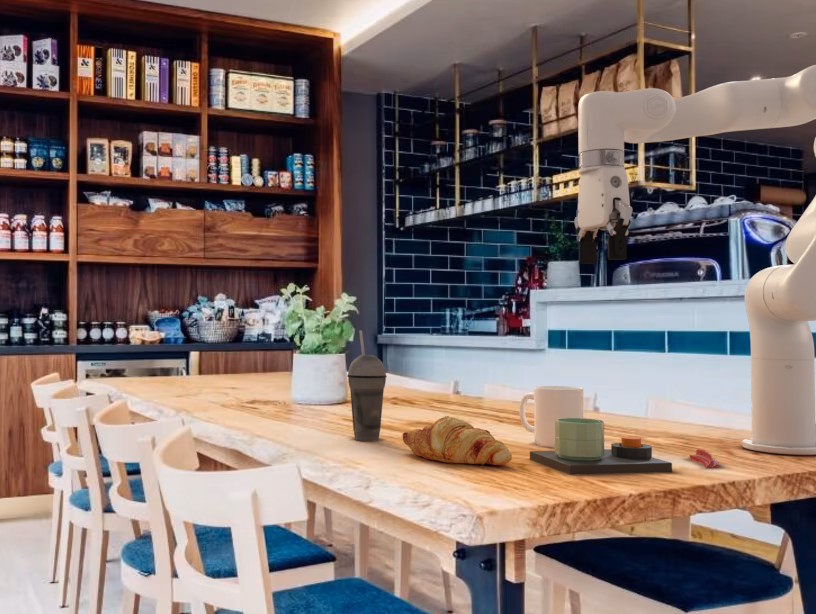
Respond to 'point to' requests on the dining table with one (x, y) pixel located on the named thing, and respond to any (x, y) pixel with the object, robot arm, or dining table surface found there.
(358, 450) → the dining table surface
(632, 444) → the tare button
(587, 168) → the robot arm
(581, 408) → the cup
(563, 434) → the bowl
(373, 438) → the beverage cup
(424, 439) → the croissant
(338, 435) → the dining table surface
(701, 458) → the cayenne pepper
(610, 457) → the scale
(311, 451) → the dining table surface
